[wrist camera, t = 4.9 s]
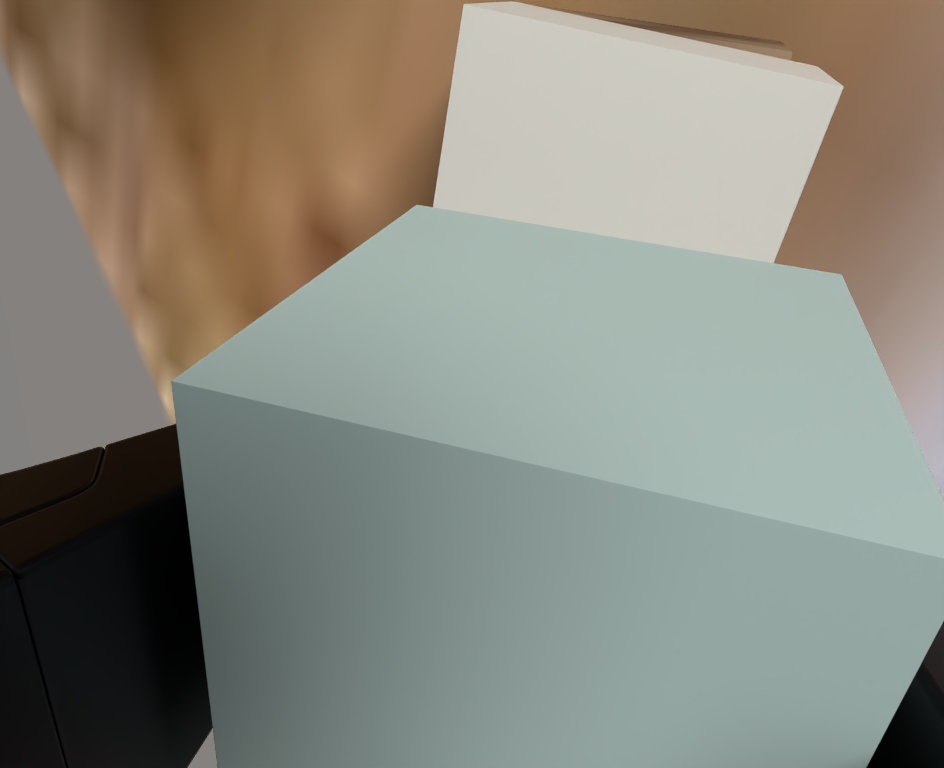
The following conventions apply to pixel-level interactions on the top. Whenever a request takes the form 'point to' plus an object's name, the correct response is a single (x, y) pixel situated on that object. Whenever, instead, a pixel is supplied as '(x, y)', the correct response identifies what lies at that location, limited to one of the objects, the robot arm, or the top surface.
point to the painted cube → (555, 511)
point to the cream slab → (628, 131)
